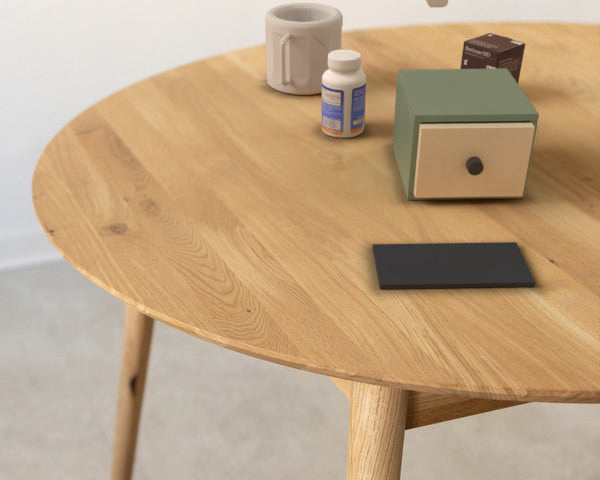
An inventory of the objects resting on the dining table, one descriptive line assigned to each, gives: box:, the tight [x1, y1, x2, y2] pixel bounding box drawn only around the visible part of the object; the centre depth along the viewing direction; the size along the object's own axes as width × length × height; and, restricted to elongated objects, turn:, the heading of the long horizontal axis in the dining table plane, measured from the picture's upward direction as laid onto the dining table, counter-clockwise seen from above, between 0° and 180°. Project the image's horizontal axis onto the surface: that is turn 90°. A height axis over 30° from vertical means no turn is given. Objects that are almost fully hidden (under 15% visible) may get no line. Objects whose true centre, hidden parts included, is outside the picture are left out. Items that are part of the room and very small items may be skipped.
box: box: [459, 32, 526, 84], centre depth 107 cm, size 6×6×7 cm
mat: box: [371, 241, 536, 290], centre depth 73 cm, size 14×7×1 cm, turn 91°
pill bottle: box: [321, 48, 367, 139], centre depth 96 cm, size 5×5×10 cm
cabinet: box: [391, 68, 540, 201], centre depth 87 cm, size 14×13×10 cm
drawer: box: [414, 121, 535, 198], centre depth 85 cm, size 14×11×8 cm
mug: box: [264, 2, 344, 96], centre depth 109 cm, size 14×11×10 cm
